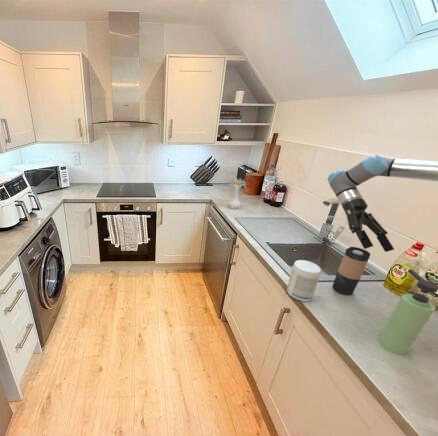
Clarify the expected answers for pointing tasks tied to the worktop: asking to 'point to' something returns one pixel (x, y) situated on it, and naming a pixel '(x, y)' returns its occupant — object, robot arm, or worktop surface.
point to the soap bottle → (406, 323)
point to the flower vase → (236, 192)
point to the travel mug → (350, 270)
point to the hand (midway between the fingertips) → (379, 249)
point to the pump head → (424, 283)
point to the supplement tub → (303, 280)
